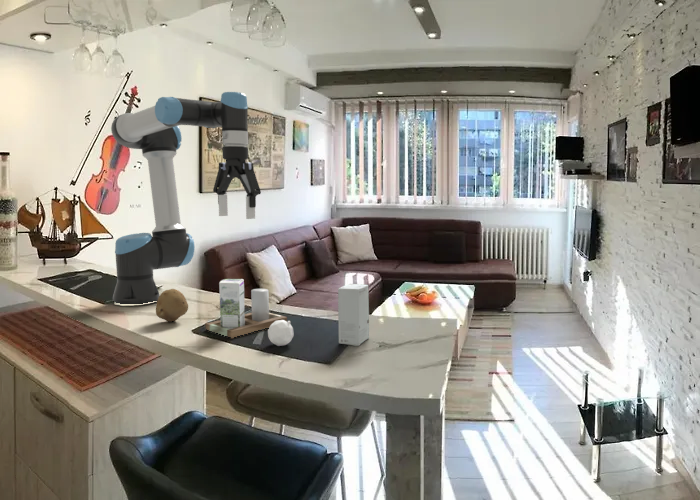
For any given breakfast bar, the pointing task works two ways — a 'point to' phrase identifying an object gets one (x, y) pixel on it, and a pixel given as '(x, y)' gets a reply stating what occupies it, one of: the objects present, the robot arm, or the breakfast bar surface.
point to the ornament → (280, 332)
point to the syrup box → (232, 303)
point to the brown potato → (171, 305)
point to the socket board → (248, 328)
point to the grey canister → (260, 304)
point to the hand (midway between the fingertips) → (236, 217)
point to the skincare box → (353, 314)
